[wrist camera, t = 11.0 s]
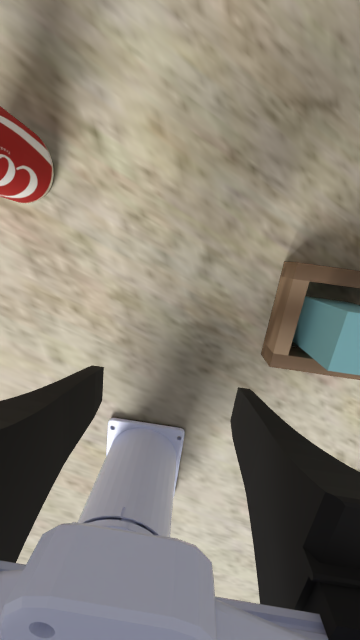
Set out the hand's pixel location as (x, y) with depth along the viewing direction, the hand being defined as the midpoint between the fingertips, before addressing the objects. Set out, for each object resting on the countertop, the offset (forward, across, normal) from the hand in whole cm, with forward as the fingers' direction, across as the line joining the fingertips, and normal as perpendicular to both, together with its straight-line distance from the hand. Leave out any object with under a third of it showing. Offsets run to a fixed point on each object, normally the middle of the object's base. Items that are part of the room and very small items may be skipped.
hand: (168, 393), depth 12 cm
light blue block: (+10, -12, -3) cm, 16 cm away
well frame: (+9, -12, -4) cm, 16 cm away
